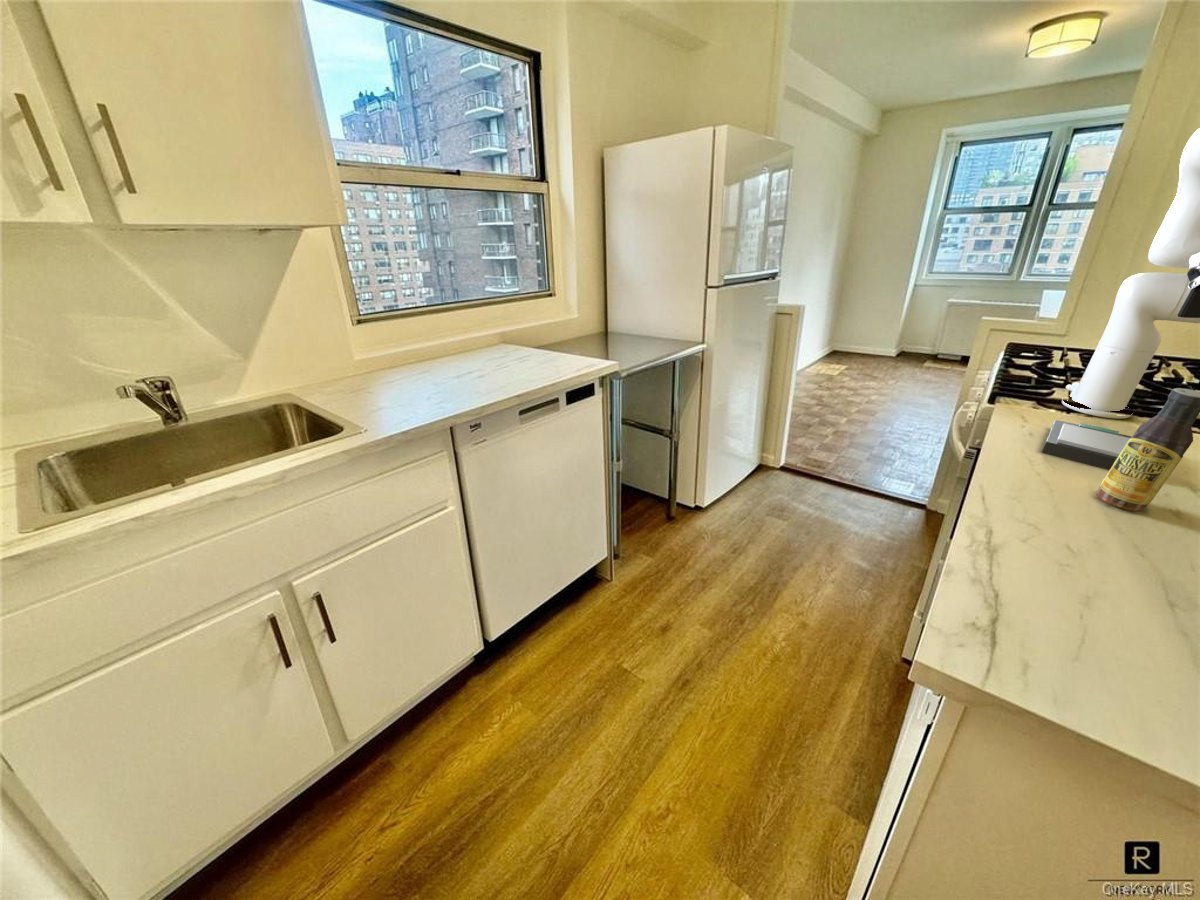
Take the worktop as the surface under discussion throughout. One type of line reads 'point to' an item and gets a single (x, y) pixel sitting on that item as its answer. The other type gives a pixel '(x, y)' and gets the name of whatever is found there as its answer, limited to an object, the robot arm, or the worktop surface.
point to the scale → (1085, 443)
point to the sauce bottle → (1152, 453)
